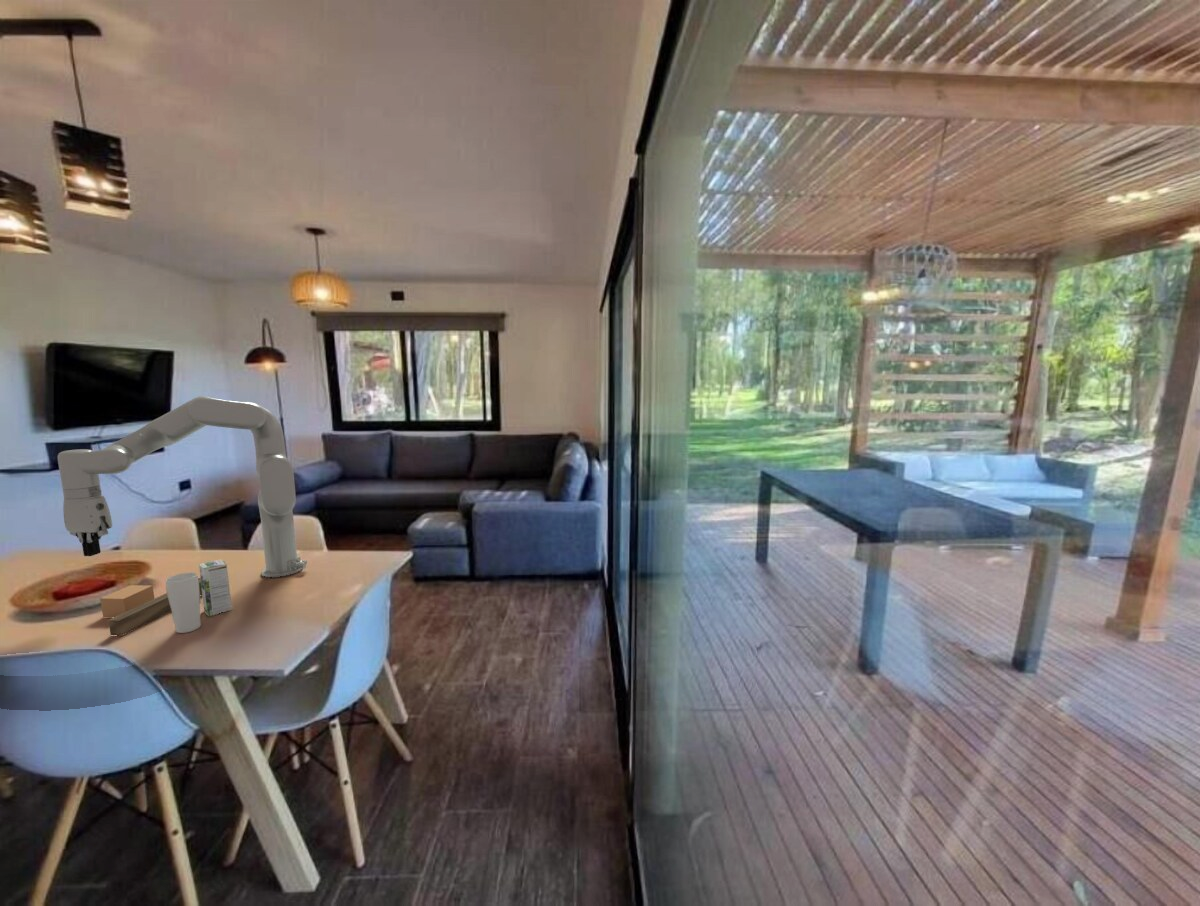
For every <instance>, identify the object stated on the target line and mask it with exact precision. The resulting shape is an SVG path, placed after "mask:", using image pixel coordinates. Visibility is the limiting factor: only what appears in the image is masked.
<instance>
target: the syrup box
mask: <svg viewBox="0 0 1200 906" xmlns="http://www.w3.org/2000/svg"><path fill="white" fill-rule="evenodd" d="M198 566H199V573H200V574H199V575H200V577H199V578H201V587H202V596H201V597H202V603H203V604H202V605H203V611H204V613H205V614H206V616H207V617H212V616H211V615H213V616H215V614H216V615H218V614H219V613H220V614H222V613H221V612H223V613H225V612H224V611H226V612H228V611H227V610H229V611H232V610H231V609H232V601H231V600H232V599H231V590H230V583H229V582H230V581H229V572H228V564H227V563H226V562H225V561H224V560H223V559H217V560H216V559H215V560H211V561H206V562H203V563H200V564H199V565H198ZM220 614H219V615H220Z"/></svg>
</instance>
